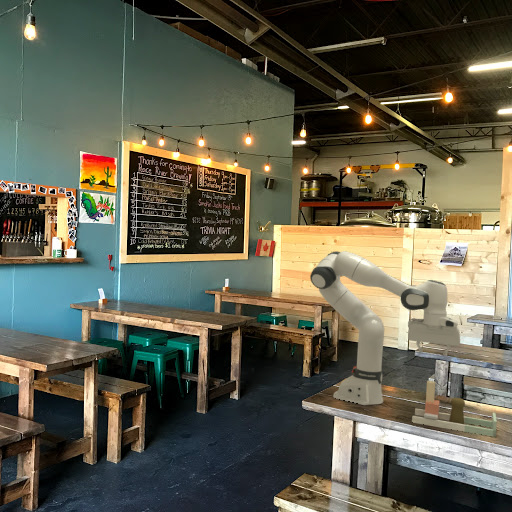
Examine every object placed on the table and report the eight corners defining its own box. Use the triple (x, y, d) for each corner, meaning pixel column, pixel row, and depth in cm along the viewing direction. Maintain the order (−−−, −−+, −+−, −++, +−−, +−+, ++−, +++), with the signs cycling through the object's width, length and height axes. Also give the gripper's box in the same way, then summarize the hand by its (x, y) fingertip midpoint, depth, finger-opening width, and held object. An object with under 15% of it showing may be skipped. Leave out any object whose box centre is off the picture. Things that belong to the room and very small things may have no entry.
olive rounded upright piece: (446, 425, 200) (447, 398, 200) (451, 422, 205) (453, 395, 204) (461, 429, 196) (463, 401, 196) (466, 426, 201) (468, 398, 200)
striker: (423, 423, 199) (425, 384, 199) (426, 414, 211) (428, 377, 211) (437, 426, 197) (439, 386, 197) (439, 416, 209) (441, 379, 209)
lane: (412, 422, 201) (412, 407, 201) (415, 414, 212) (415, 400, 212) (495, 437, 189) (496, 421, 189) (494, 427, 200) (495, 412, 200)
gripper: (407, 318, 205) (405, 352, 206) (461, 323, 197) (459, 358, 197) (409, 316, 211) (407, 349, 211) (461, 322, 203) (459, 355, 203)
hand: (432, 354), depth 204 cm, fingers open, 8 cm apart
